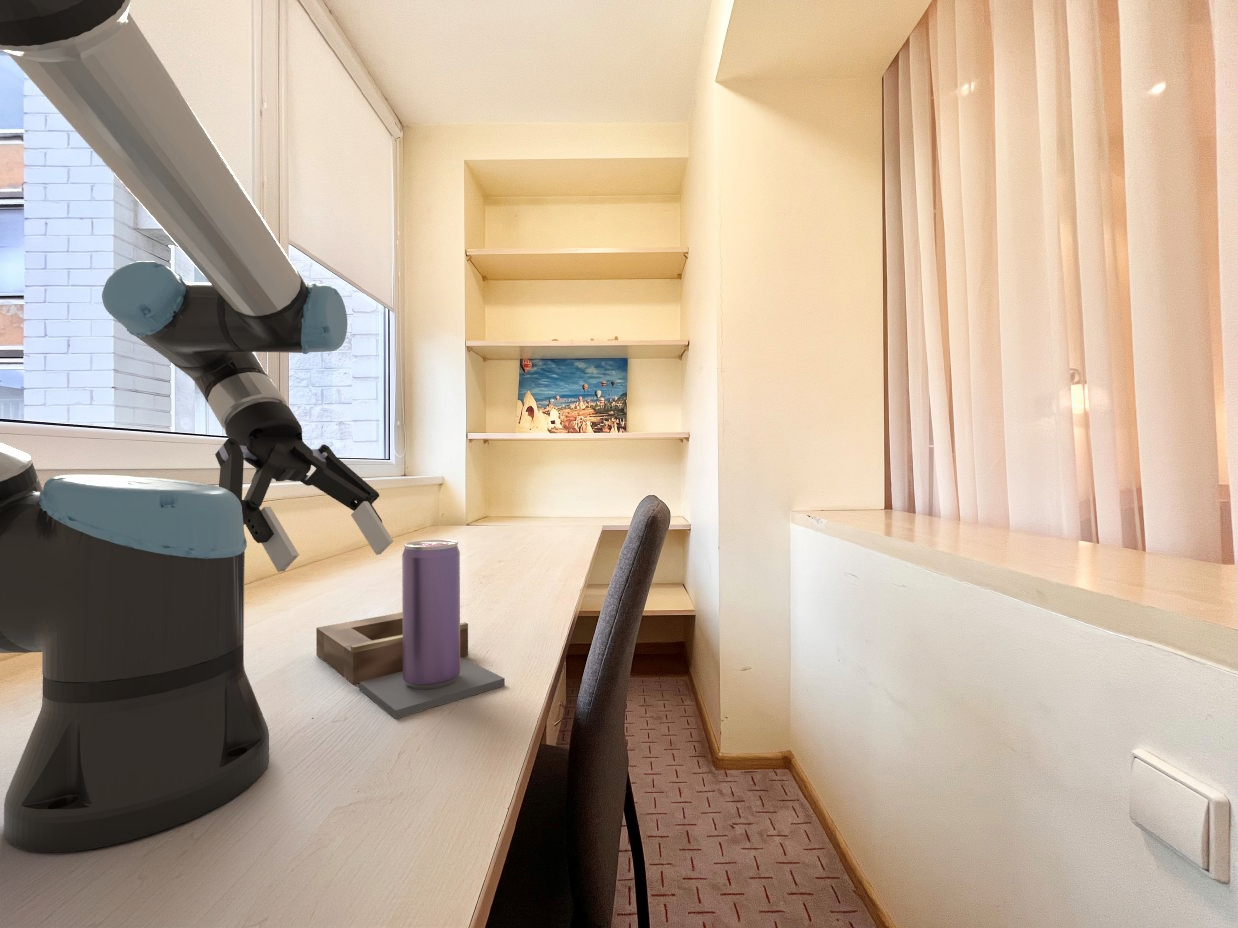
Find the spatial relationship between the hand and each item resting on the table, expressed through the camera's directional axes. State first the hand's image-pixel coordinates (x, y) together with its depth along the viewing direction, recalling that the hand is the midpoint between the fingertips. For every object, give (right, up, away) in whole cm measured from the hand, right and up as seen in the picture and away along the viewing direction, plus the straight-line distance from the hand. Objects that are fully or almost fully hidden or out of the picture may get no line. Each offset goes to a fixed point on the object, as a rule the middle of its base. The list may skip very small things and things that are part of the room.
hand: (341, 555), depth 65 cm
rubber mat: (+11, -14, -3) cm, 18 cm away
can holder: (+3, -14, +8) cm, 16 cm away
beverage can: (+11, -13, -3) cm, 18 cm away
